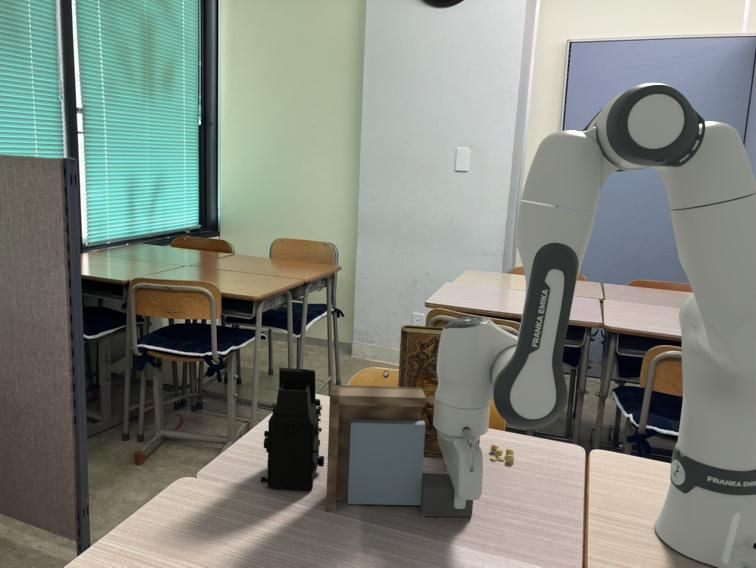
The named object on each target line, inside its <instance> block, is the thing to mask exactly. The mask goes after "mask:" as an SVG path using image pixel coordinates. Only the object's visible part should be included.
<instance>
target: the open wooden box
mask: <svg viewBox="0 0 756 568" xmlns="http://www.w3.org/2000/svg"><path fill="white" fill-rule="evenodd" d="M329 390H330V391H329V408H328V410H329V411H328V436H327V437H328V438H327V439H328V442H327V443H328V444H327V445H328V446H327V467H326V468H327V472H326V498H325V499H326V500H325V511H326V512H336V504H337V503H336V500H348V478H349V454H350V429H351V419H372V420H411V421H421V409H422V407H425V400H426V398H425V395H424V392H423V389H422V388H417V387H398V386H381V385H380V386H379V385H378V386H377V385H375V386H373V385H347V384H346V385H344V384H343V385H341V384H330V389H329Z"/></svg>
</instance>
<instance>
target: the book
mask: <svg viewBox="0 0 756 568" xmlns="http://www.w3.org/2000/svg"><path fill="white" fill-rule="evenodd" d="M443 329H444V327H439V326H425V325H424V326H423V325H411V324H408V325H407V324H406V325H403V326H401V329H400V344H399V360H398V361H399V362H398V380H397V381H398V383H397V387H417V388H422V389H423V392H424V395H425V398H426V400H425V407H422V409H421V421H424V422H425V440H424V456H423V459H424V458H425V459H436V460H437V459H438V460H439V459H440V460H444V458H443V455H442V453H441V450H440V447H439V444H438V436H437V429H436V428H435V427H434V425H433V417H434V399H435V392H436V390H437V387H438V376H437V356H438V348H439V342H440V337H441V333H442V331H443ZM480 440H481V438H480V439H479V440H478V441H477V442H478V444H479V445H480V442H481V441H480Z"/></svg>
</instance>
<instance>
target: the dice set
mask: <svg viewBox="0 0 756 568" xmlns="http://www.w3.org/2000/svg"><path fill="white" fill-rule="evenodd" d="M491 451H492V452H496V454H495V456H492V457H489V458H490V459H492V460H493V461H492V460H491V461H492V462H496V461H495V460H497V461H499V460H500V462H501V461H502V462H504V461H503V460H505V462H507V463H508V464H507V463H506V464H507V465H513V463H514V462H515V461H514V460H515V456H514V453H515V452H514V449H512V448H506V449H505V457H506V456H507V457H506V458H505V457H497V456H503V449H501V448H499V445H498V444H491V445H490V452H491ZM496 455H497V456H496ZM490 459H489V460H490Z"/></svg>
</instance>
